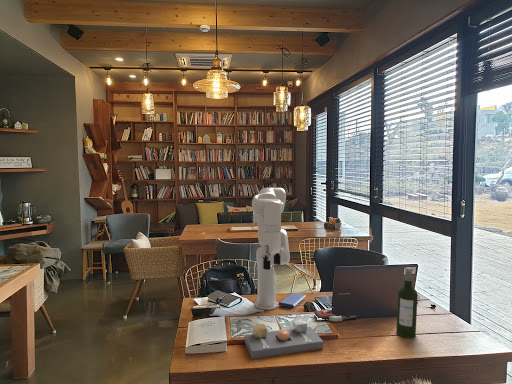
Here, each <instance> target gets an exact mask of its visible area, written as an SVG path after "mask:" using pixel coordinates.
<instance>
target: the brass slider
mask: <svg viewBox="0 0 512 384" xmlns="http://www.w3.org/2000/svg"><path fill="white" fill-rule="evenodd" d="M267 332H268V328H267V326H266V324H265V323H262V324H255V325H254V324H253V325H252V334H253V335H254V337H255V338H260V337H267Z"/></svg>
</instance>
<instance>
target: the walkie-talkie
mask: <svg viewBox="0 0 512 384" xmlns="http://www.w3.org/2000/svg"><path fill="white" fill-rule="evenodd" d="M332 308H333V307H328V308H326V309H321V310H314V313H313V314H315V315H316V316H317V317H318V318H322V319H328V320H327V321H330V322H342V321H343V320H347V319H348V320H349V319H352V318H357V315H349V316H350V317H346V316H342V315H340V316H336V315H334V314H332V312H331V310H332Z"/></svg>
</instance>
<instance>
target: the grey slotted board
mask: <svg viewBox="0 0 512 384" xmlns="http://www.w3.org/2000/svg"><path fill="white" fill-rule="evenodd" d="M286 330H287V331H289V340H288V341H284V342H283V341H279V340H278V339H277V332H278V331H279V330H273V331H267V337H260V338H255V337H254V335H253V333H251V334H249V333H248V334H244V336H243V337H244V339H245V342H244V344H245V346H246V348H247V351H248V353H249V356H250V357H251V359H252V360H253V359H259V358H260V359H261V358H266V357H267V358H268V357H273V356H274V357H275V356H280V355H288V354H293V353H300V352H306V351H314V350H315V351H316V350H320V349H321V350H322V349H324V340H323V339H322V338H321V337H320V335H318V333H317V332H315V330H314V329H313V328H312V327H311V326H307V331H305V332H297V333H296V332H295V331H294V329H293V328H289V329H286Z"/></svg>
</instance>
